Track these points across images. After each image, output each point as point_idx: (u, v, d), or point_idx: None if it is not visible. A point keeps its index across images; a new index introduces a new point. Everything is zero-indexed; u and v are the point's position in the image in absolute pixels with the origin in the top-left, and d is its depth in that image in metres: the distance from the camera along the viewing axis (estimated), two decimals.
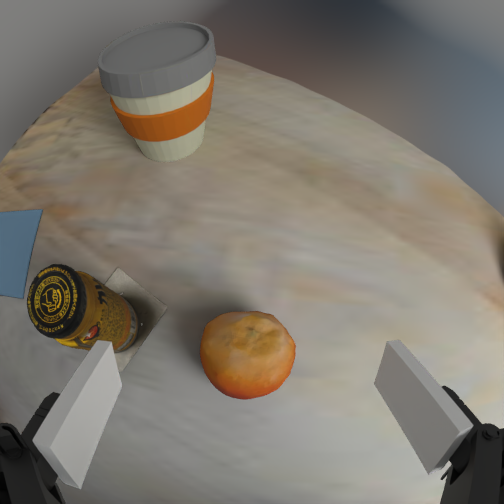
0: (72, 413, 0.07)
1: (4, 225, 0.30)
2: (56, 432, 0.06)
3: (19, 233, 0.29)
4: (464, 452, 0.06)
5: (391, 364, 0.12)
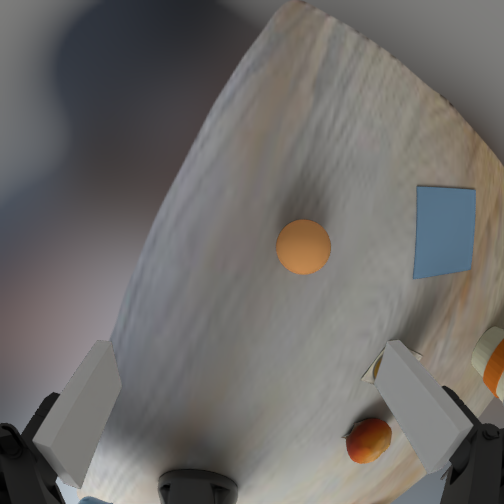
0: (72, 413, 0.07)
1: (466, 222, 0.33)
2: (56, 432, 0.06)
3: (458, 250, 0.34)
4: (464, 452, 0.06)
5: (391, 364, 0.12)
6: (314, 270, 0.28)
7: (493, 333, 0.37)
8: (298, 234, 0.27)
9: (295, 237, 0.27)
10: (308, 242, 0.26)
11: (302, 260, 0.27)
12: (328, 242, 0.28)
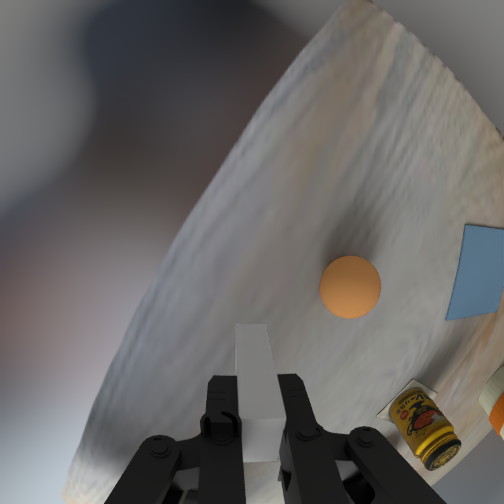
0: None
1: (501, 264, 0.29)
2: (259, 404, 0.09)
3: (490, 292, 0.29)
4: (284, 456, 0.08)
5: None
6: (360, 316, 0.23)
7: None
8: (351, 276, 0.22)
9: (347, 279, 0.22)
10: (361, 287, 0.22)
11: (352, 306, 0.22)
12: (380, 286, 0.23)
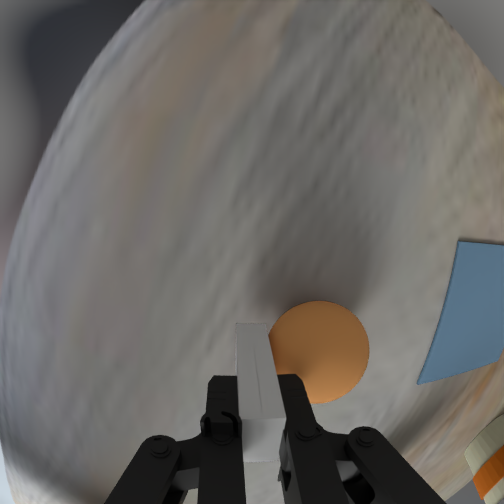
0: None
1: None
2: (259, 404, 0.09)
3: (491, 338, 0.19)
4: (284, 456, 0.08)
5: None
6: None
7: (499, 426, 0.22)
8: (362, 334, 0.13)
9: (363, 342, 0.13)
10: None
11: None
12: None
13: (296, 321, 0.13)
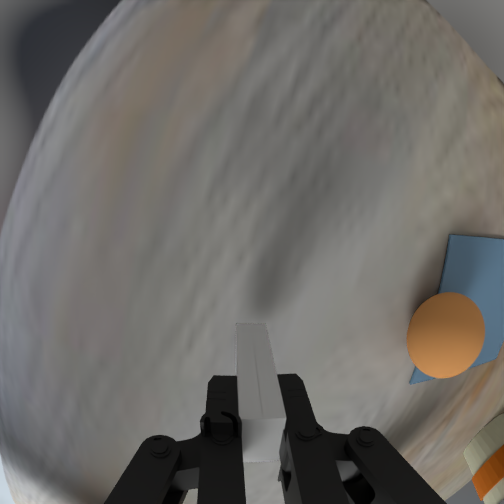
0: None
1: None
2: (259, 404, 0.09)
3: (488, 336, 0.19)
4: (284, 456, 0.08)
5: None
6: (427, 373, 0.14)
7: (499, 426, 0.22)
8: (427, 310, 0.14)
9: (422, 312, 0.15)
10: (427, 329, 0.14)
11: (412, 348, 0.15)
12: (461, 347, 0.12)
13: None
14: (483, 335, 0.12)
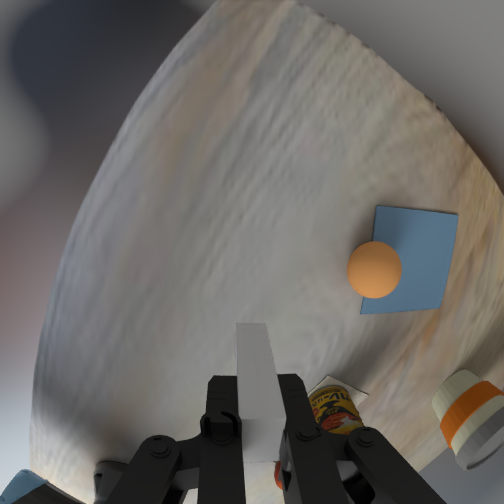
0: None
1: (440, 253, 0.29)
2: (259, 404, 0.09)
3: (426, 285, 0.30)
4: (284, 456, 0.08)
5: None
6: (361, 293, 0.26)
7: (460, 378, 0.34)
8: (356, 250, 0.26)
9: (354, 252, 0.26)
10: (355, 260, 0.25)
11: (348, 275, 0.26)
12: (378, 271, 0.24)
13: None
14: (397, 267, 0.24)
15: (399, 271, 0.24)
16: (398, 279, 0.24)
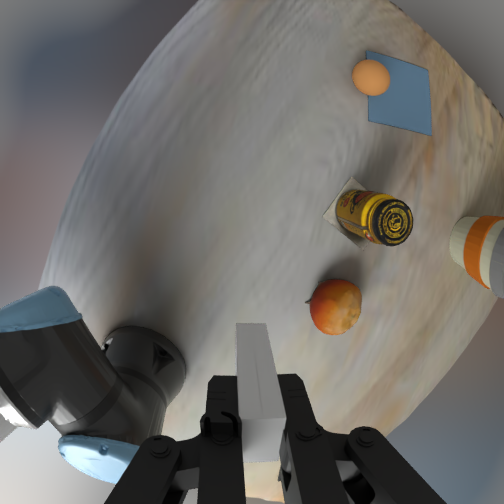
0: None
1: (419, 91, 0.35)
2: (259, 404, 0.09)
3: (414, 112, 0.36)
4: (284, 456, 0.08)
5: None
6: (364, 85, 0.32)
7: (469, 218, 0.40)
8: None
9: (355, 66, 0.33)
10: (356, 66, 0.32)
11: (354, 77, 0.33)
12: (372, 67, 0.30)
13: None
14: (385, 68, 0.30)
15: (387, 72, 0.30)
16: (388, 77, 0.31)
